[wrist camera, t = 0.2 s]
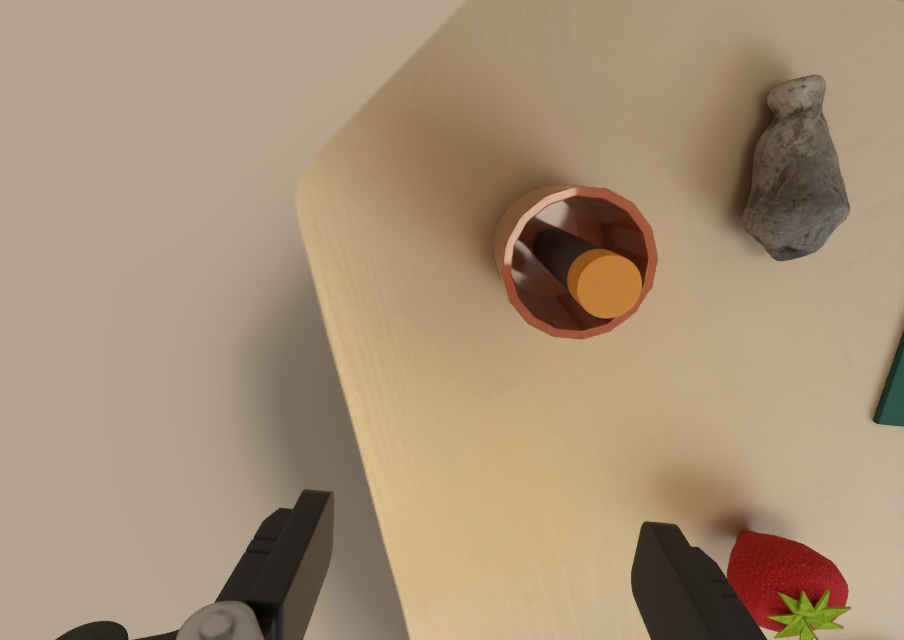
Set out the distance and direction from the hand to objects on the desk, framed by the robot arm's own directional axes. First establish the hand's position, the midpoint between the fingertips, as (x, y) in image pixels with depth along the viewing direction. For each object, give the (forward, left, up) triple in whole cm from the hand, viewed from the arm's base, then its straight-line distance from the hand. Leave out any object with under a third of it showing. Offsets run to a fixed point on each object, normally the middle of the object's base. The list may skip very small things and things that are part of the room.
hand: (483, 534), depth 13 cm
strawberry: (+17, +24, -24) cm, 38 cm away
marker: (-5, +5, -23) cm, 24 cm away
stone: (-11, +19, -24) cm, 33 cm away
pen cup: (-5, +5, -24) cm, 25 cm away
